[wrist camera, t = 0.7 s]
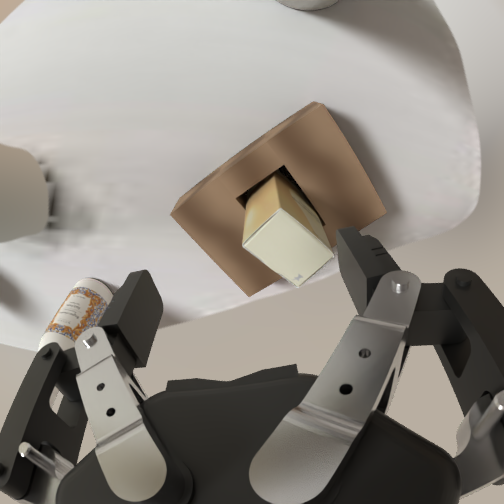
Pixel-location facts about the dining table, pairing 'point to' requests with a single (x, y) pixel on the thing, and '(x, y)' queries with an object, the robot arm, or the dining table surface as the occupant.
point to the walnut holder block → (305, 174)
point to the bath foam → (77, 316)
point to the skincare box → (285, 230)
